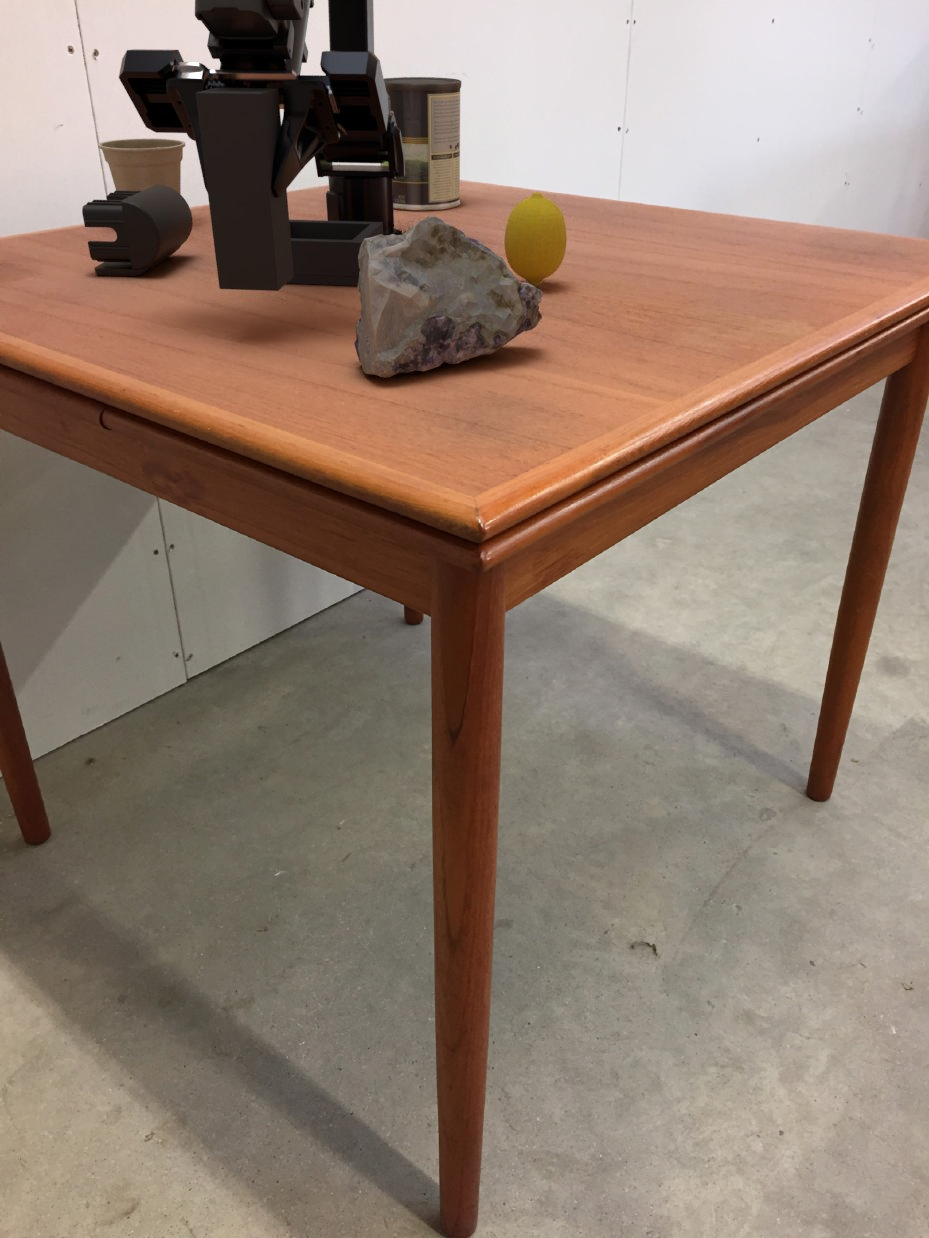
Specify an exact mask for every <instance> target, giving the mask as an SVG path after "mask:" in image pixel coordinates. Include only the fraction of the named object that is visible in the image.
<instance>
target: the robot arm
mask: <svg viewBox="0 0 929 1238" xmlns="http://www.w3.org/2000/svg"><path fill="white" fill-rule="evenodd" d="M314 6H315V0H194V17H195V18H196V20H197V21H200V22H201V23H202V24H203V26H204V27H205V28H206V29H207V31H208V32H209V33H208V37H207V44H206V47H207V49H208V51H209V54H210V56H211V58H212V59H213V60H219V63H220V65H219V69H210V68H209V67H207V66H206V65H205V64H203V63H201V62H197V61H184V58H183V56H182V54H181V52H180V50H179V49H148V48H147V49H146V48H143V49H141V48H139V49H137V48H135V49H134V48H133V49H126V51H125V53H124V55H123V57H122V59H121V63H120V68H119V74H118V79H119V81H120V82H121V84H122V86H123V88H124V91H125V92H126V93H127V95H128V98H129V99H130V101H131V103H132V104H133V106H134V108H135V110H136V112H137V114H138V115H139V117H140V118H141V121H142V123H143V124H144V125H145V128H146V129H149V130H150V131H152V132H154V133H156V134H157V133H158V134H159V133H162V134H186V135H187V137H188V138H189V139H190V140H192V141H194V142H195V146H196V151H197V155H198V161H199V165H200V170H201V175H202V179H203V185H204V188H205V191H206V193H208V190H207V182H206V174H205V166H204V158H203V149H202V141H201V133H200V125H199V117H198V109H197V101H196V92H200V91H205V90H209V89H213V88H278V93H279V105H280V110H283V116H282V119H281V129H280V134H279V139H278V143H277V148H276V153H275V158H274V162H273V169H272V181H271V190H272V193H273V195H274V197H280V196H281V195H282V194H283V193H284V191H285V190H286V189H288V188H289V186H290V185H291V184H292V182H293V181H294V180H295V179H296V178H297V177H298V175H299V174H300V173H301V171H302V170H304V168H305V166H306V165H307V164H308V163H309V162H310V161H311V160H312V159H313V158H314V162H315V169H316V174H317V175H316V176H317V178H324V177H327V178H328V190H327V191H326V193H325V200H326V216H327V218H326V219H327V221H359V222H382V223H383V235H385V236H386V235H391V234H395V235H403V230H400V229H397V228H395V213H394V210H395V209H393V179H395V178H396V177H404V176H405V157H404V149H403V143H402V137H401V131H400V129H399V128H398V127H397V124H396V120H395V116H394V115H393V114H391V105H390V97H389V95H388V93H387V92H386V88H385V83H384V75H383V69H382V66H381V65H382V63H381V61H380V59H379V58H378V56H377V55H376V54H375V25H374V24H375V23H374V22H375V21H374V20H375V17H374V15H375V14H374V0H327V8H328V35H329V36H328V37H329V38H328V39H329V50H324V51H321V56H320V63H319V66H320V69H321V72H322V73H324V74H325V75H317V74H315V75H314V74H312V75H311V74H310V75H309V74H308V75H304V74H303V75H302V74H301V72H302V64H307V63H308V57H309V49H308V45H307V43H306V37H307V36H306V35H307V30H308V24H309V23H308V22H309V15H310V9H313V8H314ZM384 162H388V165H389V166H381V165H373V164H381V163H384ZM333 163H334V164H333ZM335 163H339V164H335ZM341 163H343V164H341ZM363 164H365V165H363ZM367 164H368V165H367ZM369 164H372V165H369Z"/></svg>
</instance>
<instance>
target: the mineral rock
mask: <svg viewBox="0 0 929 1238" xmlns="http://www.w3.org/2000/svg"><path fill="white" fill-rule="evenodd" d="M358 263H359V268H360V273H359V275H360V276H359V282H358V286H356V287H357V289H356V290H357V291H358V292H359V298H360V299H359V301H360V315H359V319H358V320H357V321H356V322H355V328H354V331H355V337H356V339H355V341H354V343H353V344H354V348H355V351H356V355H357V358H358V361H359V362H360V364H361V368H362V371H363V372H364V373H365V375H371V376H373V375H375V376H379V377H380V378H390V377H392V376H396V375H401V374H406V373H407V374H408V373H412V372H414V371H418V372H426V371H430V370H433V369H435V368H438V367H440V366H441V365H442V364H443V363H445V364H448V365H456V364H460V363H461V362H463V361H469V360H470V359H472V358H476V357H479V356H481V357H482V356H488V355H492V354H494V353H495V352H497V351H499V349H501V348H503V347H504V346H506V345H507V344H509V342H511V341H512V340H513V339H515V338H517V337H518V336H519V335H521V334H522V333H524V332H528V331H532V330H533V329H535V328H536V327H537V326H538V325H539V323H540V321H541V320H542V319H543V315H542V314H541V312H540V311H539V310H540V305H539V304H540V303H541V302H542V298H543V296H544V292H543V291H542V289H541V288H538V287H537V286H533V285H531V284H529V283H528V282H521V281H520V280H519V279H518V278H517V277H516V276H515V275H514V274H513V273H512V271H511V270H510V269H509V268H508V266H507V263H506V261H505V259H504V258H503V257H501V256H499V255H498V254H497V253H495V252H494V251H493V250H492V249H491V248H489V247H487V246H486V245H485V244H484V243H483V242H481V241H479V240H477V239H475V238H472V237H470V236H467V235H466V233H465V232H464V231H463V230H461V229H459V228H457V227H456V226H454V225H451V224H449V223H446V222H445V221H444V220H442V219H441V218H439V217H437V216H435V215H428V216H427V218H425V219H419V220H418V221H417V222H416V223H415V224H414V225H413V226H411V228H409V229H408V230H407V231H405V233H402V235H395V234H391V235H386V236H385V235H381V234H380V235H377V236H374V237H370V238H365V239H364V240H363V242H362V244H361V247H360V251H359V256H358Z"/></svg>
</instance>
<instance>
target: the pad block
mask: <svg viewBox="0 0 929 1238" xmlns="http://www.w3.org/2000/svg"><path fill="white" fill-rule="evenodd" d="M196 101H197V109H198V117H199V125H200V133H201V141H202V149H203V158H204V166H205V174H206V182H207V190H208V192H207V198H208V207H209V215H210V222H211V231H212V237H213V246H214V254H215V255H214V256H215V264H216V271H217V277H218V278H217V279H218V287H219V290H241V291H265V292H267V291H268V292H279V291H280V290H281V289H282V288H284V286H285V285H286V284H288V283H287V282H288V281H290V280H291V279H292V278H293V277H294V272H293V260H292V248H291V236H290V224H289V220H290V213H289V212H290V211H289V202H288V191H287V189H288V188H287V189H286V190H285V191H284V193H283V194H282V195H281V196H280V197H274V195H273V193H272V190H271V181H272V169H273V162H274V158H275V153H276V148H277V143H278V139H279V134H280V129H281V125H282V118H281V109H280V105H279V93H278V88H213V89H209V90H205V91H200V92H196ZM207 190H206V191H207Z"/></svg>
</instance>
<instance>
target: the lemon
mask: <svg viewBox="0 0 929 1238" xmlns="http://www.w3.org/2000/svg"><path fill="white" fill-rule="evenodd" d="M567 238H568V237H567V228H566V221H565V218H564V214H563V212H562V210H561V208H560V207H559V206H558V205H557V204H556V203H555V202H553V201H552V200H551V199H549V198H547V197H545V196H544V195H543V194H542V192H538V191H536V192H533V193H532V194H531V195H530V196H529V197H526V198H524V199H522V200H521V201H520V202H518V203H517V204H516V205H515V206H514V208H513V209H512V211H511V212H510V213H509V216H508V219H507V222H506V226H505V231H504V239H503V241H504V253H505V256H506V260H507V263H508V264H509V267H510V268H511V269H512V271H513V272H514V273H515V274H516V275H518V276H519V277H521V278H522V279H525V281H526V283H529V284H531V285H533V286H535V287H538V285H540V283H541V282H543V280H544V279H546V278H549V277H551V276H552V275H553V274H554V273H556V271H557V270H558V269H559V268H560V266H561V265H562V263H563V260H564V258H565V255H566V250H567Z"/></svg>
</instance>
